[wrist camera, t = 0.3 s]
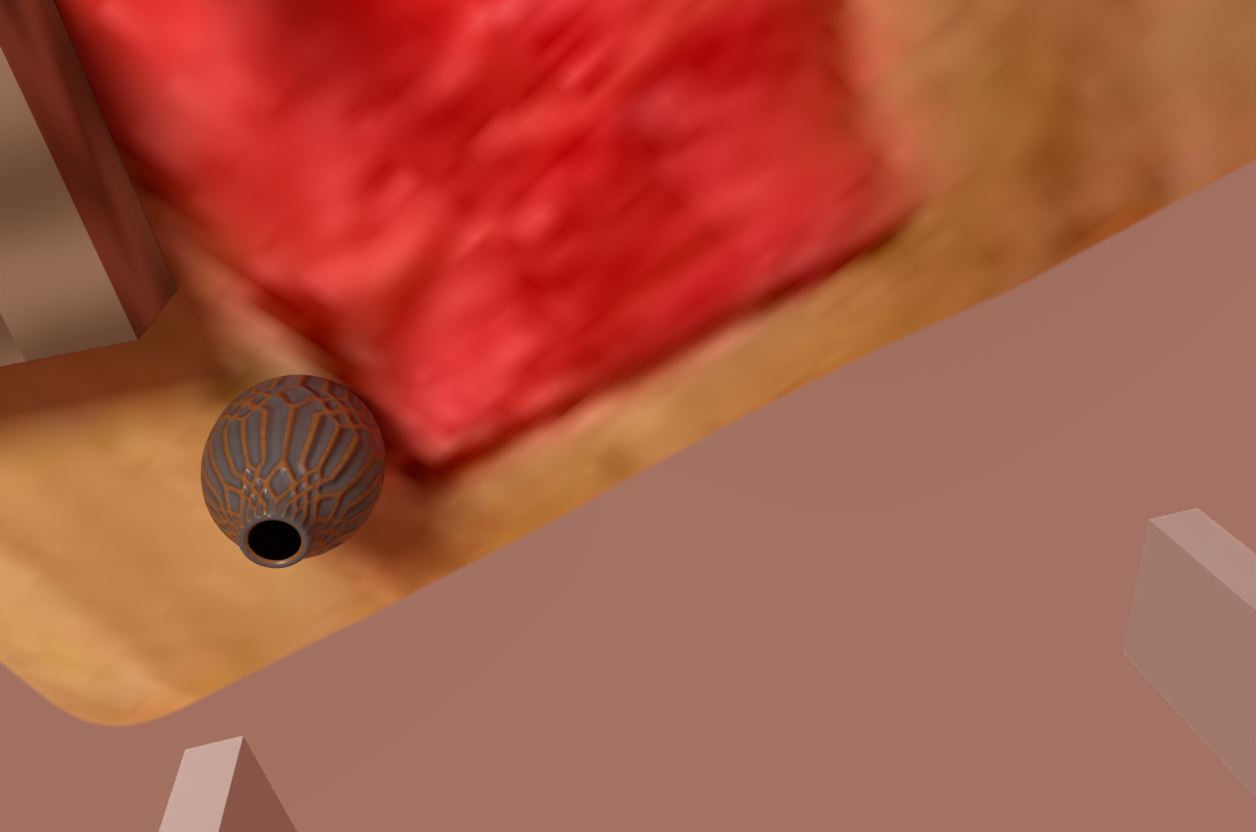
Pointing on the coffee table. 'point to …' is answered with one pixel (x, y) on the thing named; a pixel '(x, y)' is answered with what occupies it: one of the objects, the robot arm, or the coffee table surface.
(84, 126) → the block
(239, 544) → the vase
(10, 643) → the coffee table surface
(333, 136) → the coffee table surface
